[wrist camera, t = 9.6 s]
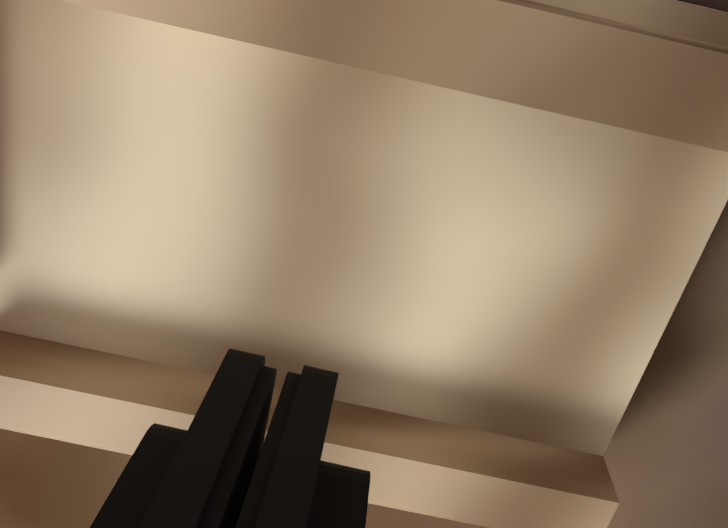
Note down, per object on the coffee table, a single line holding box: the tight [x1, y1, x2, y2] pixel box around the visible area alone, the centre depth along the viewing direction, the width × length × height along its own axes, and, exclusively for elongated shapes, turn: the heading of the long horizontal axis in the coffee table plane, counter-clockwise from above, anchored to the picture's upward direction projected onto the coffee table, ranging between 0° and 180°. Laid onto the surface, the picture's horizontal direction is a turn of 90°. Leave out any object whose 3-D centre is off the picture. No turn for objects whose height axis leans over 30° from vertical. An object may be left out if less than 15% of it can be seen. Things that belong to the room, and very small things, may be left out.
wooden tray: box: [0, 0, 728, 528], centre depth 15 cm, size 15×12×4 cm
